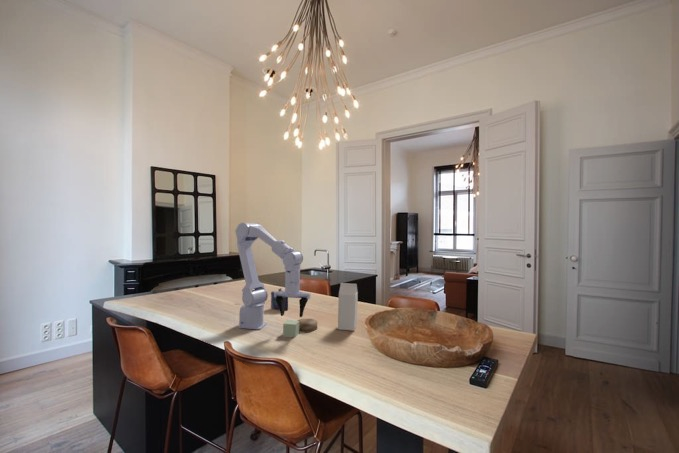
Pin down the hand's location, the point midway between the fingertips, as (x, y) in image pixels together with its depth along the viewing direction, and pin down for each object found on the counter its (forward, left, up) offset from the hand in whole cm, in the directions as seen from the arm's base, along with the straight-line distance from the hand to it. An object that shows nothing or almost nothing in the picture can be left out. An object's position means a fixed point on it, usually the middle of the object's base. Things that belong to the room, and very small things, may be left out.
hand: (291, 315), depth 123 cm
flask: (-16, +33, -8) cm, 38 cm away
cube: (0, 0, -8) cm, 8 cm away
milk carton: (+21, +13, -8) cm, 26 cm away
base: (+4, +9, -7) cm, 12 cm away
